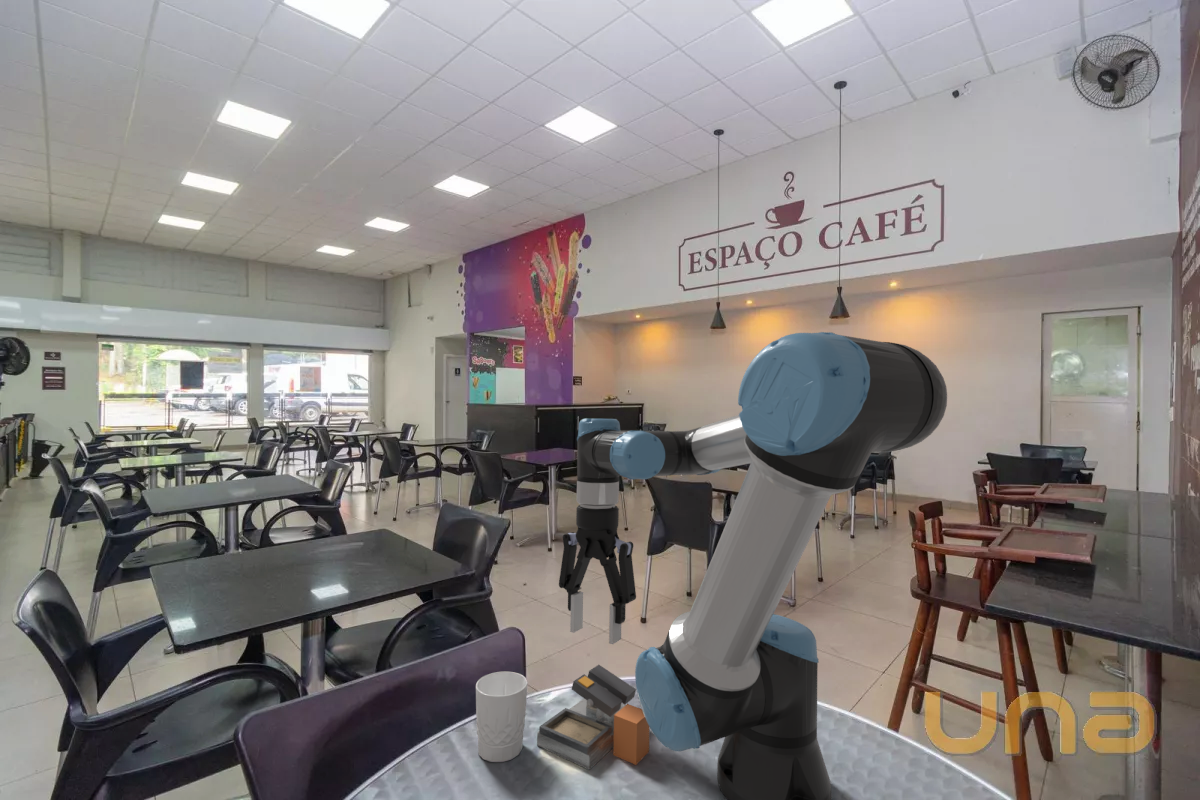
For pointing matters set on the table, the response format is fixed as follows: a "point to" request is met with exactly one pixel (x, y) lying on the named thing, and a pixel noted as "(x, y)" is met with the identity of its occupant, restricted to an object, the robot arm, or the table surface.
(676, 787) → the table surface
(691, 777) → the table surface
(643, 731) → the cap
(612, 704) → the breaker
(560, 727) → the gray metal tray
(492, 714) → the white cup
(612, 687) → the block
